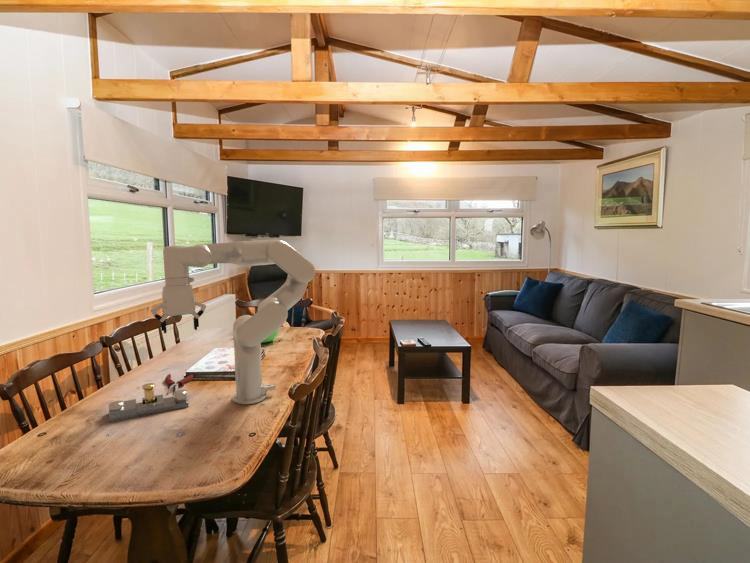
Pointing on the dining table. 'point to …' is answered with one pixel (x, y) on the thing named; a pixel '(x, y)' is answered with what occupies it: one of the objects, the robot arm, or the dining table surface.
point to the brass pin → (149, 393)
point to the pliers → (180, 383)
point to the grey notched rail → (147, 406)
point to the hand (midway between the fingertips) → (180, 330)
